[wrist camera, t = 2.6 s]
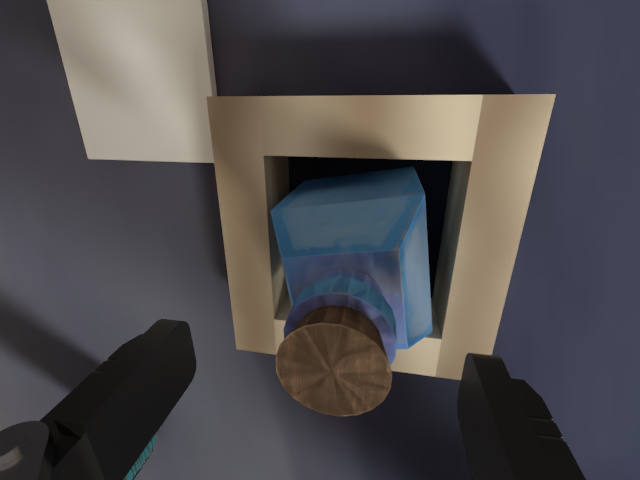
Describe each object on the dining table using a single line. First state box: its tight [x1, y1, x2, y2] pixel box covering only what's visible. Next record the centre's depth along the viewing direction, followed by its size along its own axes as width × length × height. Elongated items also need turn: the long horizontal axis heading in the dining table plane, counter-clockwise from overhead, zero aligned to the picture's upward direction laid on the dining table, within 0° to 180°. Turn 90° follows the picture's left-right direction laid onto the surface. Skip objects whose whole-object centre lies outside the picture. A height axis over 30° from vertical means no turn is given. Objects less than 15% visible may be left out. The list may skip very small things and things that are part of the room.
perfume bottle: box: [270, 166, 433, 416], centre depth 14 cm, size 6×6×12 cm
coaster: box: [47, 0, 217, 163], centre depth 19 cm, size 9×9×1 cm
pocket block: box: [206, 94, 556, 380], centre depth 18 cm, size 14×14×4 cm
